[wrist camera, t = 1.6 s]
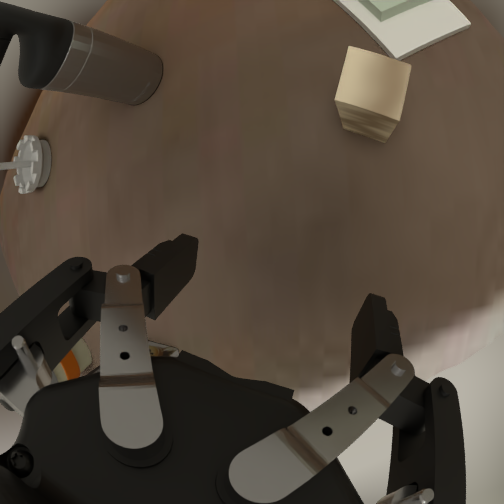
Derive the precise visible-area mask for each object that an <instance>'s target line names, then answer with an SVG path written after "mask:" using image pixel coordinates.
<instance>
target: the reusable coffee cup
mask: <svg viewBox="0 0 504 504" xmlns="http://www.w3.org/2000/svg"><path fill="white" fill-rule="evenodd" d="M91 362H92V356H91V353H90V350H89V348H88V346H87V345H86V343H85V342H84V340H83V339H82V338H81V339H80V340H79V341H78V342H77V343H76V345H75V346H74V347H73V348H72V349H71V350H70V351H69V352H68V354H67V355H66V356H65V357H64V358H63V359H62V360H61V362H60V363H59V364H58V365H57V366H56V367H55V369H54V370H53V371H52V380H51V383H50V384H54V383H58V382H62V381H66V380H70V379H74V378H78V377H79V376H80V373H81V372H82V371H83V370H84V369H86V368H87V367H88V366H89V365H90V364H91Z"/></svg>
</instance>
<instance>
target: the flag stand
mask: <svg viewBox="0 0 504 504" xmlns="http://www.w3.org/2000/svg"><path fill="white" fill-rule="evenodd" d="M17 150H19V154H18V156H17V157H14V162H5V163H0V170H4V169H15V168H17V175H15V176H14V182H15V186H20V187H19V193H21V194H24V193H31V192H33V191H34V190H35V189H36V187H42V186H43V185H44V184H45V183H46V181H47V179H48V177H49V173H50V168H51V151H50V147H49V144H48V142H47V141H45V140H39V139H38V137H37V136H34V135H27V136H24V140H20V141H19V143H18V145H17Z"/></svg>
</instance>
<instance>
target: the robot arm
mask: <svg viewBox="0 0 504 504" xmlns="http://www.w3.org/2000/svg"><path fill="white" fill-rule="evenodd" d="M15 34H17V35H18V37H19V42H20V59H19V69H18V74H19V80H20V82H21V84H22V85H23V86H25V87H28V88H35V89H43V90H51V91H59V92H66V93H72V94H79V95H84V96H90V97H95V98H101V99H106V100H111V101H115V102H120V103H125V104H129V105H137V104H140V103H142V102H144V101H145V100H147V99H148V98H149V97H150V96H151V95H152V94H153V93H154V91H155V90H156V88H157V87H158V85H159V82H160V80H161V76H162V70H163V68H162V62H161V60H160V58H159V57H158V56H157V55H156V54H154V53H151V52H149V51H147V50H145V49H143V48H140V47H138V46H136V45H134V44H132V43H129V42H127V41H124V40H122V39H120V38H117V37H115V36H112V35H109V34H107V33H104V32H102V31H99V30H96V29H93V28H91V27H88V26H84V25H81V24H79V23H75V22H72V21H69V20H66V19H63V18H59V17H55V16H51V15H47V14H43V13H39V12H35V11H32V10H29V9H25V8H22V7H18V6H15V5H11V4H7V3H3V2H0V64H1V63H2V60H3V58H4V55H5V53H6V50H7V48H8V45H9V43H10V41H11V39H12V37H13V35H15ZM197 250H198V239H197V238H195V237H192V236H189V235H186V234H181V235H179V236H178V237H177V238H176V239H174V240H173V241H171V240H168V241H165V242H162V243H160V244H158V245H157V246H156V247H154V248H153V249H152V250H151V251H149V252H148V254H145V255H144V256H143V257H142V258H140V259H139V260H138V261H137V262H135V263H134V264H133V265H131V266H130V265H118V266H115V267H113V268H111V269H110V270H109V271H108V272H107V273H106V272H100V271H94V270H92V263H91V261H90V260H89V259H87V258H84V257H74V258H70V259H68V260H66V261H65V262H63V263H62V264H61V265H59V266H58V267H57V268H55V269H54V270H53V271H51V272H50V273H49V274H48V275H46V276H45V277H44V278H42V279H41V280H40V281H39V282H37V283H36V284H35V285H34V286H32V287H31V288H30V289H29V290H27V291H26V292H25V293H24V294H22V295H21V296H20V297H19V298H18V299H17V300H15V301H14V302H13V303H12V304H11V305H9V306H8V307H7V308H6V309H5V310H4V311H3V312H1V313H0V403H1V404H2V405H3V406H4V407H5V408H6V409H8V410H10V411H16V412H18V413H19V414H20V415H21V416H22V417H23V422H22V426H21V429H20V432H19V435H18V437H17V439H16V442H15V443H14V445H13V446H12V447H11V448H10V449H9V450H8V451H6V452H5V453H3V454H1V455H0V504H364V503H363V502H362V500H361V498H360V496H359V495H358V493H357V491H356V489H355V488H354V486H353V484H352V483H351V481H350V479H349V477H348V476H347V474H346V472H345V470H344V469H343V467H342V465H341V464H340V462H339V460H338V458H337V456H339V455H340V454H341V453H342V452H343V451H344V450H345V449H347V448H348V447H349V446H350V445H351V444H352V443H353V442H354V441H355V440H356V439H357V438H359V437H360V436H361V435H362V434H363V433H364V432H365V431H366V430H367V429H368V428H369V427H370V426H371V425H372V424H373V423H374V422H375V421H376V420H377V419H378V418H379V419H381V420H383V421H386V422H387V423H389V424H391V425H393V437H392V451H391V463H390V472H389V480H388V487H387V494H386V496H384V497H383V498H381V499H380V500H379V501H378V502H377V503H376V504H466V468H465V450H464V439H463V428H462V420H461V413H460V406H459V400H458V395H457V390H456V388H455V387H454V385H453V384H452V383H451V382H450V381H449V380H447V379H445V378H442V377H438V378H435V379H434V380H433V381H432V382H431V383H430V384H429V383H427V382H425V381H423V380H422V379H420V378H418V377H416V376H415V371H414V367H413V365H412V364H411V362H410V361H409V360H408V359H407V358H405V357H404V356H403V350H402V343H401V338H400V332H399V326H398V321H397V319H396V317H395V316H394V314H393V312H392V311H389V310H387V305H386V299H385V298H384V297H381V296H377V295H374V294H371V293H369V294H368V296H367V297H366V299H365V301H364V303H363V305H362V307H361V309H360V311H359V313H358V315H357V317H356V319H355V321H354V324H353V327H352V336H351V367H350V383H349V384H348V385H347V386H345V387H344V388H343V389H342V390H340V391H339V392H338V393H336V394H335V395H334V396H332V397H331V398H330V399H328V400H327V401H326V402H324V403H323V404H321V405H320V406H319V407H317V408H316V409H314V410H313V411H311V412H309V411H308V410H307V409H306V408H305V407H304V406H303V405H302V404H300V403H299V402H297V401H296V400H294V399H292V396H293V392H294V390H292V389H289V388H285V387H282V386H279V385H276V384H272V383H269V382H266V381H258V380H250V379H242V378H236V377H233V376H231V375H230V374H228V373H226V372H225V371H223V370H222V369H220V368H219V367H217V366H216V365H214V364H212V363H211V362H209V361H208V360H205V359H203V358H200V357H198V356H195V355H193V354H190V353H188V352H186V351H183V350H182V351H181V352H180V354H179V355H178V357H173V356H154V357H150V351H149V344H148V337H147V330H146V322H145V317H146V316H147V317H149V318H151V319H153V320H156V319H157V317H158V316H159V315H160V314H161V313H162V312H163V311H164V309H165V308H166V307H167V306H168V305H169V304H170V302H171V301H172V300H173V299H174V298H175V297H176V296H177V294H178V293H179V292H180V291H181V290H182V289H183V288H184V287H185V285H186V284H187V283H188V282H189V281H190V280H191V278H192V277H193V275H194V272H195V268H196V259H197ZM68 300H69V304H70V306H69V307H67V308H66V309H65V310H64V311H63V312H62V313H61V314H60V315H59V316H58V312H59V309H60V308H61V307H62V306H63V305H64V304H65V303H66V302H67V301H68ZM96 321H99V322H101V326H100V372H97V373H93V374H90V375H86V376H82V377H78V378H74V379H70V380H66V381H62V382H58V383H54V384H50V383H51V380H52V371H53V370H54V369H55V367H56V366H57V365H58V364H59V363H60V362H61V360H62V359H63V358H64V357H65V356H66V355H67V354H68V352H69V351H70V350H71V349H72V348H73V347H74V346H75V345H76V343H77V342H78V341H79V340H80V339H81V338H82V337H83V336H84V335H85V333H86V332H87V331H88V330H89V329H90V328H91V327H92V326H93V325H94V324H95V323H96Z"/></svg>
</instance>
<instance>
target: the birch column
mask: <svg viewBox="0 0 504 504" xmlns="http://www.w3.org/2000/svg"><path fill="white" fill-rule="evenodd" d="M410 70H411V65H410V64H407V63H404V62H401V61H399V60H396V59H393V58H390V57H387V56H383V55H380V54H377V53H374V52H370V51H367V50H363V49H359V48H355V47H351V46H349V47H348V51H347V55H346V59H345V63H344V67H343V70H342V74H341V78H340V82H339V85H338V89H337V93H336V96H335V103H336V106H337V109H338V112H339V115H340V119H341V122H342V126H343V129H345V130H348V131H351V132H354V133H357V134H360V135H363V136H366V137H369V138H372V139H374V140H377V141H380V142H383V143H386V142H387V140H388V138H389V137H390V135H391V134H392V132H393V130H394V129H395V127H396V126H397V124H398V122H399V121H400V116H401V112H402V108H403V104H404V99H405V95H406V90H407V85H408V80H409V75H410Z"/></svg>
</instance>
